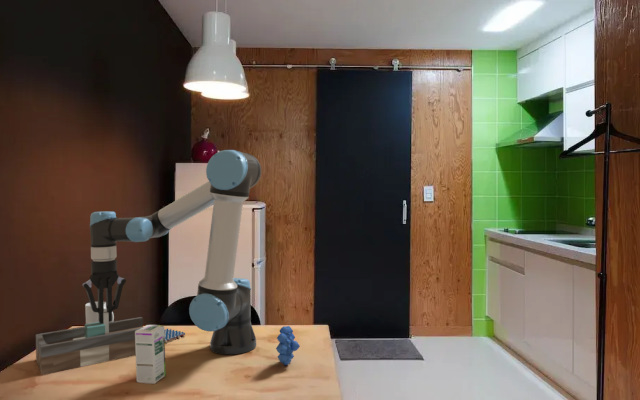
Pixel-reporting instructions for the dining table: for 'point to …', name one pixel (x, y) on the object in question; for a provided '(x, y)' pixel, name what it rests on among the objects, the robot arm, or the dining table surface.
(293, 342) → the grapes
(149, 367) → the syrup box
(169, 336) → the woven mat
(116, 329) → the track
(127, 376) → the dining table surface
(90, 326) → the block
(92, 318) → the mug
